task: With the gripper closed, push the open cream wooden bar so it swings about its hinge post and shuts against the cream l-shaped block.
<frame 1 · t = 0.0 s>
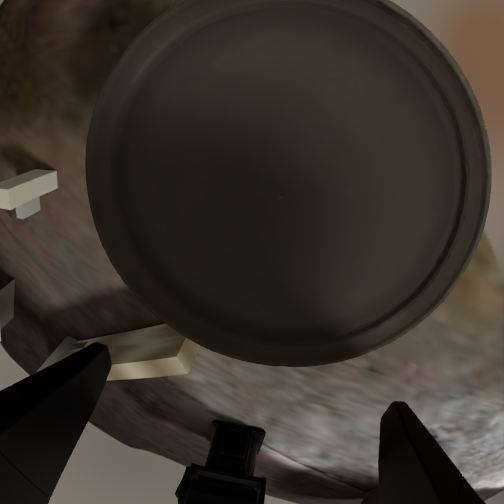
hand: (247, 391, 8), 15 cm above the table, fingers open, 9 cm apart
cream wooden bar: (119, 355, 26), point 3 cm above the table, hinge at -60.0°
cream l-shaped block: (46, 178, 23), on the table
coffee can: (294, 141, 19), on the table
plant pot: (384, 490, 39), on the table
platform: (12, 293, 31), on the table
hinge post: (74, 346, 31), on the table
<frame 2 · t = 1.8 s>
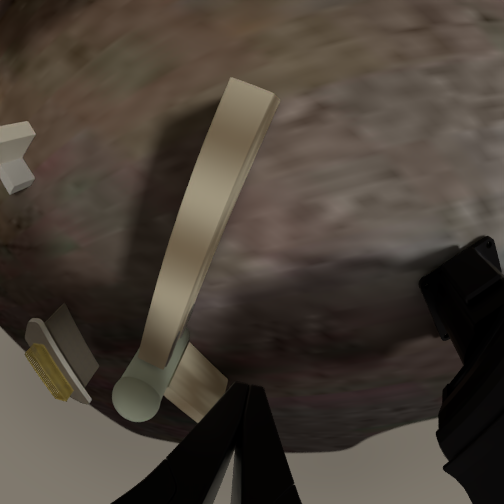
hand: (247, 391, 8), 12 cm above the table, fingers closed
cream wooden bar: (198, 239, 16), point 3 cm above the table, hinge at -60.0°
cream l-shaped block: (23, 140, 18), on the table
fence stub: (204, 363, 25), on the table
platform: (79, 332, 27), on the table
hinge post: (171, 331, 24), on the table
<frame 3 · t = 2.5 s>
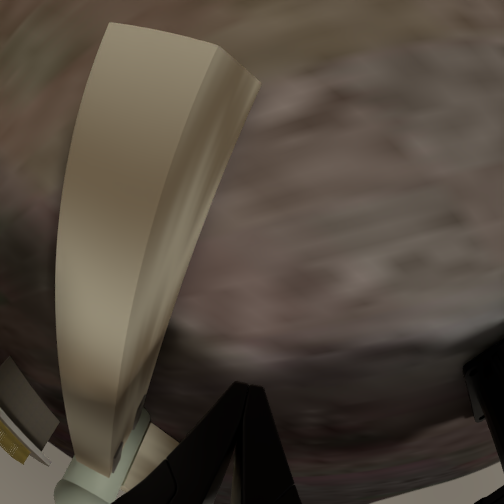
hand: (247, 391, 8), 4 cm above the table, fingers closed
cream wooden bar: (123, 337, 9), point 3 cm above the table, hinge at -60.0°
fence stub: (173, 443, 17), on the table
platform: (33, 385, 19), on the table
hinge post: (128, 409, 16), on the table
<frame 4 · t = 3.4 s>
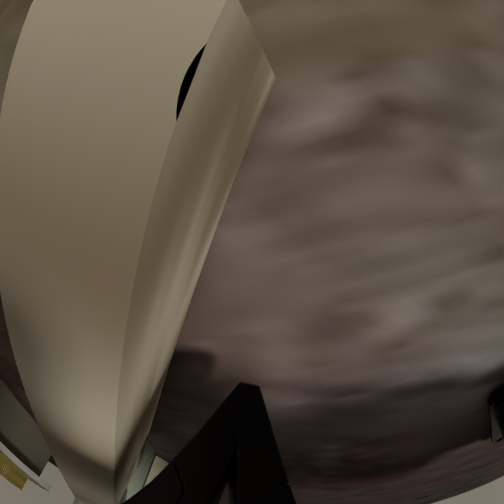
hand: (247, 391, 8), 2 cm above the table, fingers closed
cream wooden bar: (117, 394, 7), point 3 cm above the table, hinge at -58.4°, touching gripper
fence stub: (179, 473, 15), on the table
platform: (27, 408, 17), on the table
hinge post: (131, 442, 14), on the table
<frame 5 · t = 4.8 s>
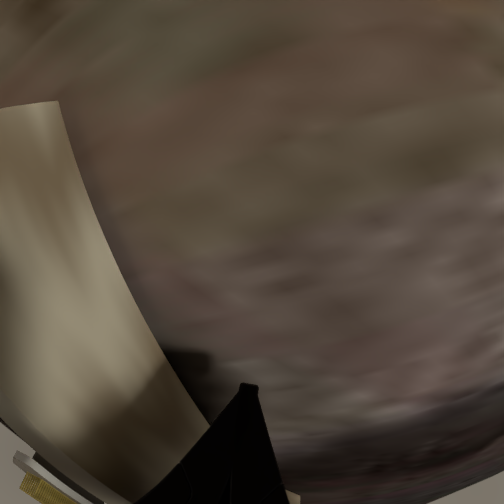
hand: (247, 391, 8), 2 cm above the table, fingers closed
cream wooden bar: (115, 412, 7), point 3 cm above the table, hinge at -21.1°, touching gripper
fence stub: (273, 488, 15), on the table
platform: (82, 438, 17), on the table
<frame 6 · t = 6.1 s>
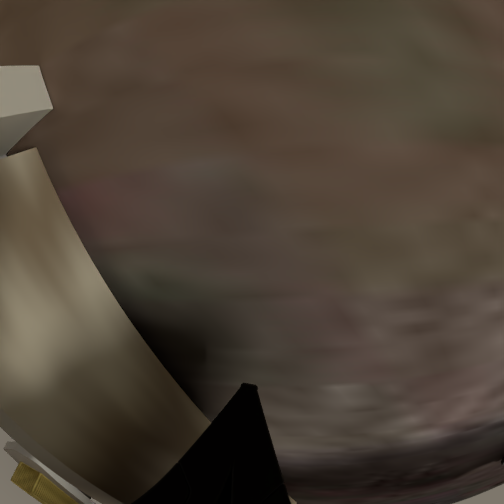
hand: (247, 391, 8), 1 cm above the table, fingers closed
cream wooden bar: (125, 431, 8), point 3 cm above the table, hinge at 0.4°, touching gripper
cream l-shaped block: (17, 114, 7), on the table
platform: (79, 424, 16), on the table
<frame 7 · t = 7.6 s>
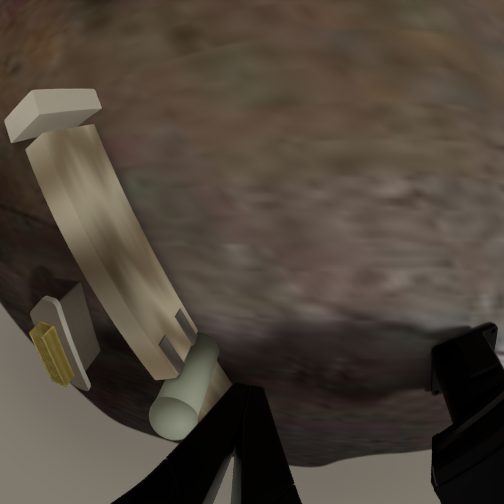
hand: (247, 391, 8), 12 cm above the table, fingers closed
cream wooden bar: (116, 254, 18), point 3 cm above the table, hinge at 0.4°
cream l-shaped block: (83, 109, 17), on the table
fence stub: (222, 379, 25), on the table
platform: (86, 313, 26), on the table
hinge post: (201, 347, 24), on the table
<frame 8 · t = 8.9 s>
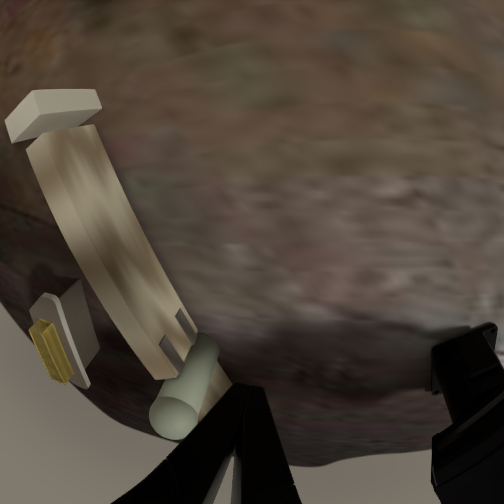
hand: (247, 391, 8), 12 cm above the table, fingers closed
cream wooden bar: (116, 253, 18), point 3 cm above the table, hinge at 0.4°
cream l-shaped block: (83, 110, 17), on the table
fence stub: (222, 379, 25), on the table
platform: (86, 310, 26), on the table
hinge post: (201, 347, 24), on the table
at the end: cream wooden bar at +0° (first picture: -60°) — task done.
